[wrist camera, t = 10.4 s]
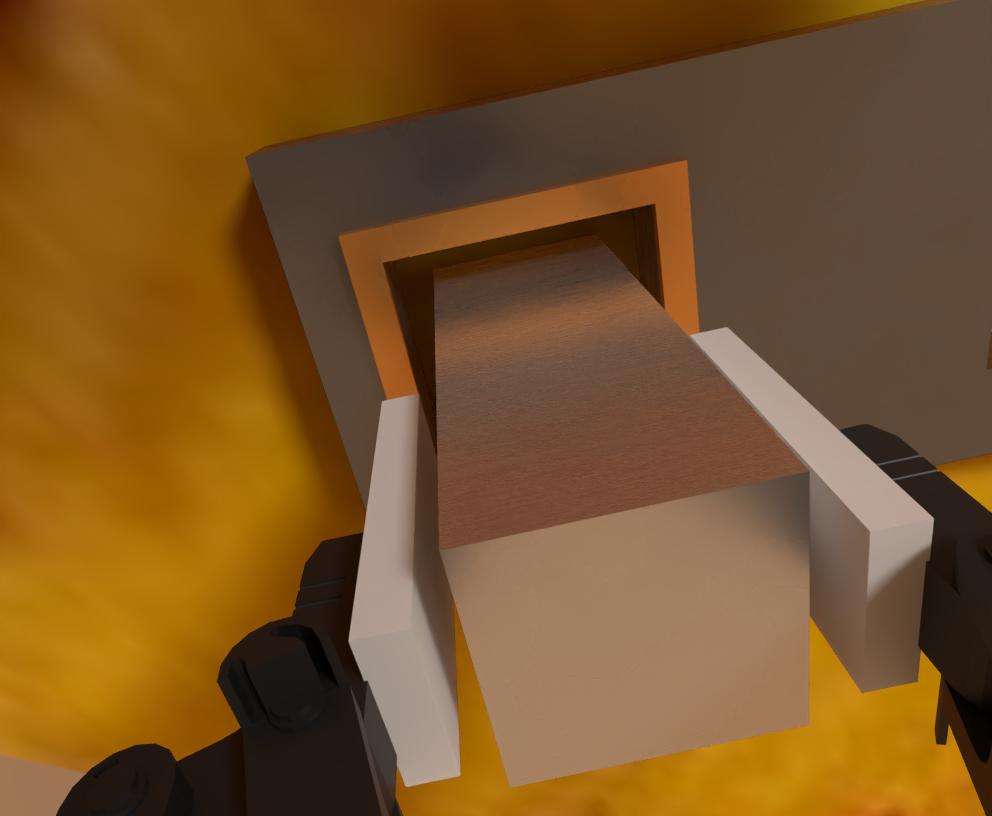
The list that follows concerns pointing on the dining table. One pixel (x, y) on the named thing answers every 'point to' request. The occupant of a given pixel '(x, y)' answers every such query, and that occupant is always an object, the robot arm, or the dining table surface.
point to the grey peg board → (693, 215)
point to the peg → (611, 520)
